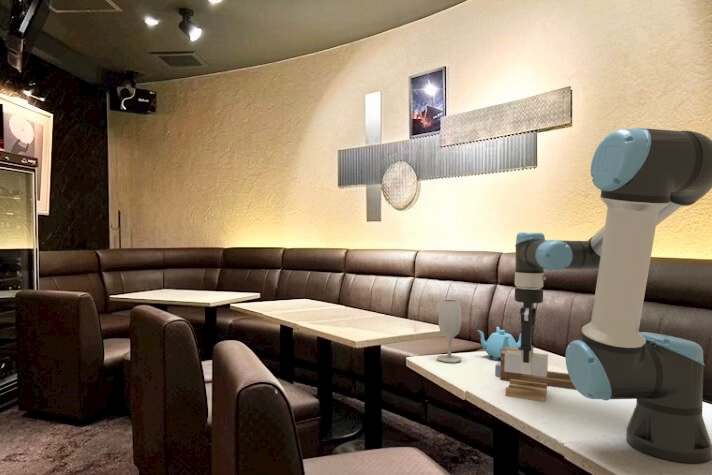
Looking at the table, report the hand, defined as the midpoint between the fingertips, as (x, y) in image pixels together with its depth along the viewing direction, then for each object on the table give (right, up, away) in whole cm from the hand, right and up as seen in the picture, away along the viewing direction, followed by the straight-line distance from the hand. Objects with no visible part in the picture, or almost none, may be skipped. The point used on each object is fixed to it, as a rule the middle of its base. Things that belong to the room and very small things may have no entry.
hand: (526, 371), depth 137 cm
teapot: (+5, -6, +39) cm, 40 cm away
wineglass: (-15, -6, +35) cm, 39 cm away
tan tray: (0, -6, 0) cm, 6 cm away
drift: (+2, -6, +15) cm, 16 cm away
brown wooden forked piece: (+9, -6, +12) cm, 17 cm away
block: (0, 0, 0) cm, 0 cm away
